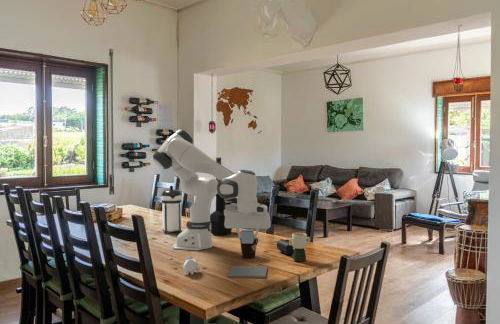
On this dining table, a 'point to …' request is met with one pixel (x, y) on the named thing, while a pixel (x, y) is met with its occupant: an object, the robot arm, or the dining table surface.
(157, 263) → the dining table surface
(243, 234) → the slate cube
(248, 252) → the coffee mug
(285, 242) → the end cap
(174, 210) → the coffee press
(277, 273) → the dining table surface
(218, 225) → the bottle
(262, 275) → the charcoal mat
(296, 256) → the character mug
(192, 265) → the elephant figurine
